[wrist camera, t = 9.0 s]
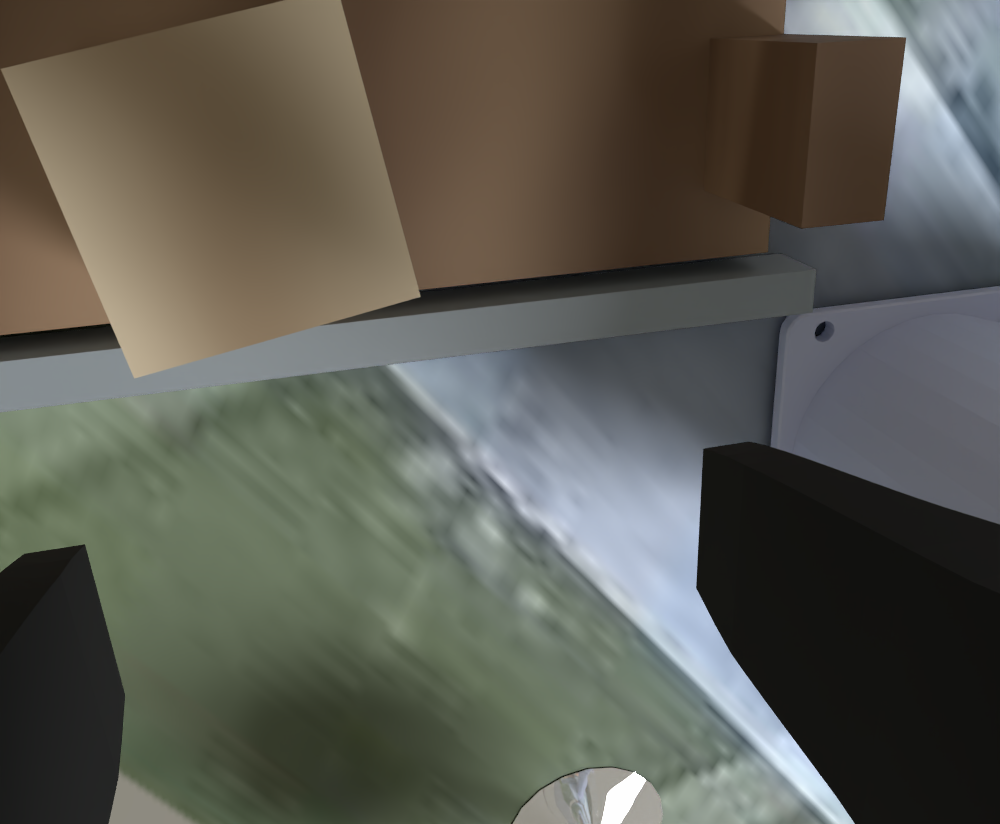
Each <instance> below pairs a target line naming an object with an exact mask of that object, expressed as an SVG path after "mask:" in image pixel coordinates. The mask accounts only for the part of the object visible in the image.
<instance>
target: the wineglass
mask: <svg viewBox="0 0 1000 824" xmlns="http://www.w3.org/2000/svg"><path fill="white" fill-rule="evenodd" d="M662 818H663V812H662V805H661V798H660V796H659V795H658V793H657V792H656V790H655V789H654V787H653V786H652V784H651V783H650V782H649V781H647V780H645V779H644V778H642V777H641V776H639V775H638V774H636V773H635V772H630V771H626V770H621V769H617V768H598V769H587V770H584V771H580V772H577V773H574V774H571V775H568V776H565V777H562V778H560V779H559V780H557V781H555V782H554V783H552V784H550V785H548V786H547V787H545V788H543V789H542V790H540V791H539V792H538V793H537V794H536V795H535V796H534V797H533V798H532V799H531V800H530V801H529V802H528V803H527V804H526V805H525V806H523V807H522V808H521V810H520V812H519V814H518V815H517V817H516V819H515V821H514V822H513V824H661V822H662Z"/></svg>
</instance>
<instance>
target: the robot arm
mask: <svg viewBox="0 0 1000 824" xmlns="http://www.w3.org/2000/svg"><path fill="white" fill-rule="evenodd" d="M822 322H825V324H826V326H825V329H824V331H823V332H822V333H821V335H819V336H816V337H815V330H816V327H817V326H818V325H819V324H820V323H822ZM696 588H697V590H698V592H699V594H700V596H701V598H702V600H703V602H704V604H705V606H706V608H707V610H708V612H709V614H710V616H711V618H712V620H713V621H714V623H715V625H716V627H717V629H718V631H719V632H720V634H721V636H722V638H723V640H724V641H725V643H726V645H727V647H728V649H729V650H730V652H731V654H732V655H733V657H734V658H735V659H736V661H737V662H738V664H739V665H740V667H741V668H742V669H743V671H744V672H745V674H746V675H747V676H748V678H749V679H750V680H751V682H752V683H753V685H754V686H755V687H756V689H757V690H758V691H759V693H760V694H761V696H762V697H763V698H764V700H765V701H766V702H767V704H768V705H769V706H770V708H771V709H772V710H773V712H774V713H775V715H776V716H777V717H778V719H779V720H780V721H781V723H782V724H783V725H784V727H785V728H786V729H787V731H788V732H789V733H790V735H791V736H792V737H793V739H794V740H795V741H796V743H797V744H798V745H799V747H800V748H801V749H802V751H803V752H804V754H805V755H806V756H807V758H808V759H809V760H810V762H811V763H812V764H813V766H814V767H815V768H816V770H817V771H818V772H819V774H820V775H821V776H822V778H823V779H824V780H825V782H826V783H827V784H828V786H829V787H830V788H831V790H832V791H833V793H834V794H835V795H836V797H837V798H838V799H839V801H840V802H841V804H842V805H843V807H844V808H845V810H846V811H847V813H848V814H849V816H850V817H851V819H852V820H853V822H854V823H855V824H1000V286H994V287H986V288H978V289H970V290H962V291H953V292H945V293H937V294H929V295H920V296H912V297H904V298H896V299H888V300H879V301H871V302H863V303H855V304H847V305H838V306H830V307H822V308H814V309H813V312H812V313H805V314H797V315H789V316H788V317H786V319H785V320H784V322H783V323H782V326H781V329H780V335H779V348H778V360H777V373H776V385H775V397H774V410H773V422H772V435H771V447H769V446H766V445H762V444H757V443H753V442H744V443H737V444H731V445H725V446H718V447H712V448H705V449H703V468H702V487H701V507H700V527H699V546H698V566H697V586H696ZM124 701H125V693H124V689H123V686H122V682H121V678H120V674H119V671H118V667H117V663H116V659H115V656H114V652H113V648H112V644H111V641H110V637H109V633H108V629H107V626H106V622H105V618H104V614H103V611H102V607H101V603H100V599H99V596H98V592H97V588H96V584H95V581H94V577H93V573H92V569H91V566H90V562H89V558H88V554H87V551H86V547H85V545H79V546H72V547H66V548H59V549H53V550H46V551H40V552H33V553H27V554H24V555H22V556H21V557H20V558H18V559H17V560H16V561H14V562H13V563H12V564H10V565H9V566H8V567H7V568H5V569H4V570H3V571H2V572H1V573H0V824H108V823H109V819H110V814H111V810H112V805H113V800H114V795H115V791H116V786H117V781H118V775H119V764H120V754H121V743H122V730H123V716H124Z"/></svg>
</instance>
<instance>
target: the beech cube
mask: <svg viewBox="0 0 1000 824" xmlns="http://www.w3.org/2000/svg"><path fill="white" fill-rule="evenodd" d="M1 71H2V73H3V75H4V78H5V80H6V82H7V85H8V87H9V89H10V92H11V94H12V96H13V99H14V101H15V103H16V106H17V108H18V110H19V113H20V115H21V117H22V120H23V122H24V124H25V126H26V129H27V131H28V133H29V136H30V138H31V140H32V143H33V145H34V147H35V150H36V152H37V154H38V157H39V159H40V161H41V164H42V166H43V168H44V171H45V173H46V175H47V177H48V180H49V182H50V184H51V187H52V189H53V191H54V194H55V196H56V198H57V201H58V203H59V205H60V208H61V210H62V212H63V215H64V217H65V219H66V222H67V224H68V226H69V228H70V231H71V233H72V235H73V238H74V240H75V242H76V245H77V247H78V249H79V252H80V254H81V256H82V259H83V261H84V263H85V266H86V268H87V270H88V273H89V275H90V277H91V279H92V282H93V284H94V286H95V289H96V291H97V293H98V296H99V298H100V300H101V303H102V305H103V307H104V310H105V312H106V314H107V317H108V319H109V321H110V323H111V326H112V328H113V330H114V333H115V335H116V337H117V340H118V342H119V344H120V347H121V349H122V351H123V354H124V356H125V358H126V361H127V363H128V365H129V368H130V370H131V372H132V374H133V377H134V379H135V378H138V377H142V376H145V375H149V374H152V373H156V372H159V371H163V370H166V369H170V368H173V367H177V366H180V365H184V364H187V363H191V362H194V361H198V360H201V359H205V358H208V357H212V356H215V355H219V354H222V353H226V352H229V351H233V350H236V349H240V348H243V347H247V346H250V345H254V344H257V343H261V342H264V341H268V340H271V339H275V338H278V337H282V336H285V335H289V334H292V333H296V332H299V331H303V330H306V329H310V328H313V327H317V326H320V325H324V324H327V323H331V322H334V321H338V320H341V319H345V318H348V317H352V316H355V315H359V314H362V313H366V312H369V311H373V310H376V309H380V308H383V307H387V306H390V305H394V304H397V303H401V302H404V301H408V300H411V299H415V298H418V297H421V296H420V292H419V288H418V285H417V281H416V277H415V274H414V270H413V266H412V262H411V259H410V255H409V251H408V248H407V244H406V240H405V236H404V233H403V229H402V225H401V222H400V218H399V214H398V211H397V207H396V203H395V199H394V196H393V192H392V188H391V185H390V181H389V177H388V174H387V170H386V166H385V162H384V159H383V155H382V151H381V148H380V144H379V140H378V136H377V133H376V129H375V125H374V122H373V118H372V114H371V111H370V107H369V103H368V99H367V96H366V92H365V88H364V85H363V81H362V77H361V73H360V70H359V66H358V62H357V59H356V55H355V51H354V48H353V44H352V40H351V36H350V33H349V29H348V25H347V22H346V18H345V14H344V11H343V7H342V3H341V0H283V1H279V2H275V3H271V4H267V5H263V6H259V7H255V8H250V9H246V10H242V11H238V12H234V13H230V14H226V15H222V16H217V17H213V18H209V19H205V20H201V21H197V22H193V23H189V24H184V25H180V26H176V27H172V28H168V29H164V30H160V31H156V32H151V33H147V34H143V35H139V36H135V37H131V38H127V39H123V40H118V41H114V42H110V43H106V44H102V45H98V46H94V47H90V48H85V49H81V50H77V51H73V52H69V53H65V54H61V55H56V56H52V57H48V58H44V59H40V60H36V61H32V62H28V63H23V64H19V65H15V66H11V67H7V68H3V69H1Z"/></svg>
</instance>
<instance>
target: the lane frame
mask: <svg viewBox="0 0 1000 824" xmlns="http://www.w3.org/2000/svg"><path fill="white" fill-rule="evenodd" d="M815 280H816V269H814V268H812V267H810V266H808V265H805V264H803V263H801V262H799V261H797V260H794V259H792V258H790V257H788V256H786V255H784V254H781V253H778V254H769V255H759V256H750V257H741V258H732V259H723V260H713V261H704V262H695V263H686V264H676V265H667V266H658V267H649V268H640V269H630V270H621V271H612V272H603V273H594V274H584V275H575V276H566V277H557V278H548V279H538V280H529V281H520V282H511V283H501V284H492V285H483V286H474V287H465V288H455V289H446V290H437V291H428V292H420V296H421V297H418V298H415V299H411V300H408V301H404V302H401V303H397V304H394V305H390V306H387V307H383V308H380V309H376V310H373V311H369V312H366V313H362V314H359V315H355V316H352V317H348V318H345V319H341V320H338V321H334V322H331V323H327V324H324V325H320V326H317V327H313V328H310V329H306V330H303V331H299V332H296V333H292V334H289V335H285V336H282V337H278V338H275V339H271V340H268V341H264V342H261V343H257V344H254V345H250V346H247V347H243V348H240V349H236V350H233V351H229V352H226V353H222V354H219V355H215V356H212V357H208V358H205V359H201V360H198V361H194V362H191V363H187V364H184V365H180V366H177V367H173V368H170V369H166V370H163V371H159V372H156V373H152V374H149V375H145V376H142V377H138V378H135V379H134V377H133V374H132V372H131V370H130V368H129V365H128V363H127V361H126V358H125V356H124V354H123V351H122V349H121V347H120V344H119V342H118V340H117V337H116V335H115V333H114V330H113V328H112V326H105V327H96V328H87V329H78V330H69V331H59V332H50V333H41V334H32V335H22V336H13V337H4V338H0V412H6V411H15V410H23V409H31V408H39V407H47V406H55V405H64V404H72V403H80V402H88V401H96V400H104V399H112V398H121V397H129V396H137V395H145V394H153V393H161V392H169V391H178V390H186V389H194V388H202V387H210V386H218V385H226V384H235V383H243V382H251V381H259V380H267V379H275V378H283V377H292V376H300V375H308V374H316V373H324V372H332V371H340V370H349V369H357V368H365V367H373V366H381V365H389V364H398V363H406V362H414V361H422V360H430V359H438V358H446V357H455V356H463V355H471V354H479V353H487V352H495V351H503V350H512V349H520V348H528V347H536V346H544V345H552V344H560V343H569V342H577V341H585V340H593V339H601V338H609V337H617V336H626V335H634V334H642V333H650V332H658V331H666V330H674V329H683V328H691V327H699V326H707V325H715V324H723V323H732V322H740V321H748V320H756V319H764V318H772V317H780V316H789V315H797V314H805V313H812V312H813V301H814V291H815Z"/></svg>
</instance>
